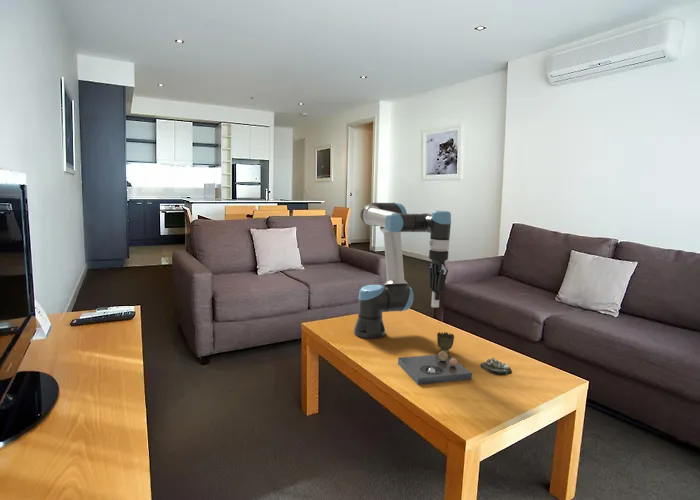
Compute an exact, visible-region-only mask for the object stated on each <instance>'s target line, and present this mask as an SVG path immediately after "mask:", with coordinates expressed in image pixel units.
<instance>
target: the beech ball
mask: <svg viewBox="0 0 700 500" xmlns="http://www.w3.org/2000/svg"><path fill="white" fill-rule="evenodd" d="M437 355H438V358H439V360H441V361H446V360H447V359H448V355H449V353H447V352H445V351H440V352H438V354H437Z"/></svg>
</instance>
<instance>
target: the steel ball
mask: <svg viewBox="0 0 700 500" xmlns="http://www.w3.org/2000/svg"><path fill="white" fill-rule="evenodd" d="M427 372H431V373H435V372H436V370H435V369H434V368H429V369H428V370H427Z"/></svg>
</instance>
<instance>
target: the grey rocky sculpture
mask: <svg viewBox="0 0 700 500" xmlns="http://www.w3.org/2000/svg"><path fill="white" fill-rule="evenodd" d="M480 368H481V369H483V370H485V371H487V372H489V373H490V374H493V375H497V376H508V375H510V374H512V373H513V371H512V369H511V367H510V365H508V363H505V362H502V361H499V360H498V359H495V357H491V358H488V359H487V360H486V361H483V362H481V363H480Z"/></svg>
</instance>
